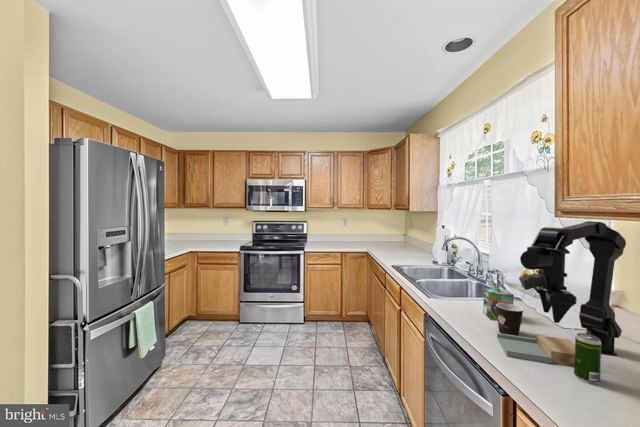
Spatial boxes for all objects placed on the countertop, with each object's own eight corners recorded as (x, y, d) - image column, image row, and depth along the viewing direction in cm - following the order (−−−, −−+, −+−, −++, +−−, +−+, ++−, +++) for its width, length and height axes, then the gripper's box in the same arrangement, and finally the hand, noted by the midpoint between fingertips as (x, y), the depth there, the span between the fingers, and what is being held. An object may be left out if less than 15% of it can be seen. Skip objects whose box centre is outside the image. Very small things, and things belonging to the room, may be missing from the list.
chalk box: (513, 322, 122) (514, 287, 121) (489, 319, 124) (490, 285, 123) (504, 314, 131) (505, 281, 130) (482, 312, 133) (483, 280, 132)
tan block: (568, 349, 98) (569, 339, 98) (587, 368, 87) (587, 356, 87) (536, 344, 101) (537, 335, 101) (550, 362, 90) (551, 350, 90)
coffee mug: (526, 339, 106) (527, 312, 105) (500, 336, 107) (501, 310, 107) (512, 326, 117) (513, 301, 117) (489, 324, 119) (489, 300, 118)
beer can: (605, 384, 79) (607, 341, 78) (586, 385, 78) (588, 341, 78) (586, 373, 84) (587, 332, 84) (568, 373, 84) (570, 332, 84)
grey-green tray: (535, 343, 102) (536, 338, 102) (551, 363, 89) (552, 357, 89) (496, 337, 106) (496, 332, 106) (506, 356, 93) (506, 350, 93)
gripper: (515, 260, 102) (513, 304, 103) (530, 271, 85) (528, 323, 85) (554, 263, 98) (552, 309, 98) (578, 275, 81) (576, 330, 81)
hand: (551, 317), depth 91 cm, fingers open, 9 cm apart
